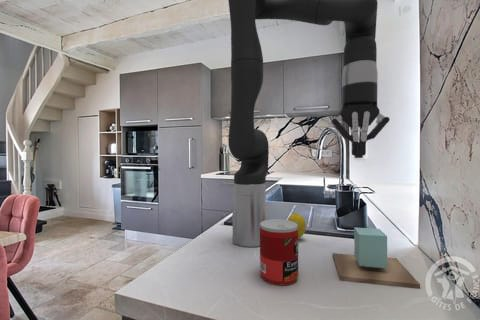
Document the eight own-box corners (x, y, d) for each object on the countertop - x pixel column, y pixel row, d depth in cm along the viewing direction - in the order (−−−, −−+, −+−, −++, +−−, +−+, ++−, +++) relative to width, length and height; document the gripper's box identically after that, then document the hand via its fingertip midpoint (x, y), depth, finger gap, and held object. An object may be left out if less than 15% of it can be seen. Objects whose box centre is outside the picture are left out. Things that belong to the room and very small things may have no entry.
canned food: (290, 290, 46) (290, 231, 46) (253, 279, 50) (252, 225, 50) (303, 273, 52) (303, 221, 52) (269, 265, 56) (268, 217, 56)
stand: (339, 280, 49) (339, 241, 49) (332, 256, 61) (332, 224, 61) (420, 288, 46) (420, 246, 46) (396, 261, 57) (396, 228, 57)
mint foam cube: (359, 265, 51) (359, 234, 51) (354, 256, 56) (354, 227, 56) (387, 268, 50) (387, 236, 50) (379, 258, 55) (379, 228, 55)
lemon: (306, 242, 70) (306, 215, 70) (286, 241, 72) (286, 214, 71) (305, 236, 76) (305, 210, 76) (287, 235, 77) (286, 210, 77)
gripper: (331, 82, 56) (330, 158, 57) (396, 77, 53) (395, 158, 53) (328, 90, 64) (327, 157, 64) (385, 87, 60) (384, 157, 60)
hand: (358, 157), depth 59 cm, fingers closed
